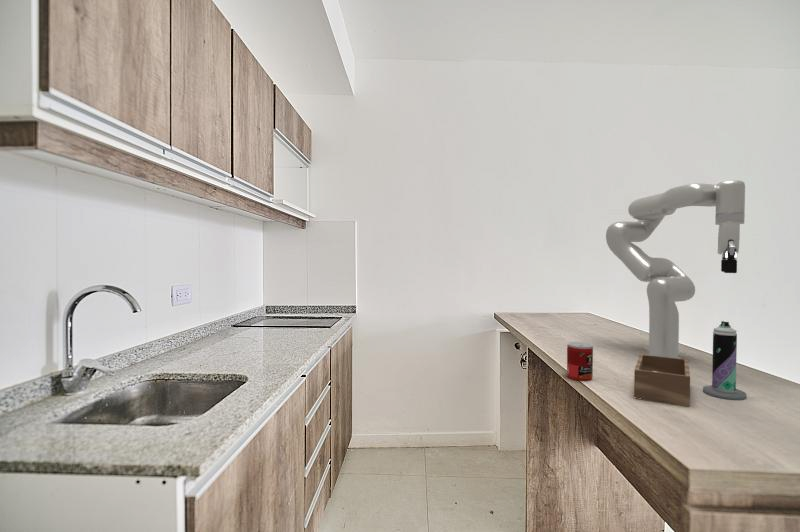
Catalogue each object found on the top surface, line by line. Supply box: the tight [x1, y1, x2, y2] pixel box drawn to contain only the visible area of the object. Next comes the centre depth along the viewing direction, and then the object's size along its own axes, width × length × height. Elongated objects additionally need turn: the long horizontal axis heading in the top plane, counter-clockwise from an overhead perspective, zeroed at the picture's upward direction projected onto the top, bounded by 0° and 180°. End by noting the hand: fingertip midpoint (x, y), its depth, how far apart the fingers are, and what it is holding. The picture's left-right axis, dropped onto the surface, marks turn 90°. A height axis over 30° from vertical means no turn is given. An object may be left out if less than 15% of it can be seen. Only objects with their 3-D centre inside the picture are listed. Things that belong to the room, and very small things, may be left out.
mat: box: [702, 384, 747, 401], centre depth 125 cm, size 10×10×1 cm
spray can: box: [711, 320, 738, 393], centre depth 125 cm, size 6×6×20 cm
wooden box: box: [633, 354, 691, 408], centre depth 128 cm, size 22×13×8 cm, turn 148°
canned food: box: [566, 341, 594, 382], centre depth 142 cm, size 8×8×11 cm
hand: (728, 272), depth 141 cm, fingers open, 9 cm apart
